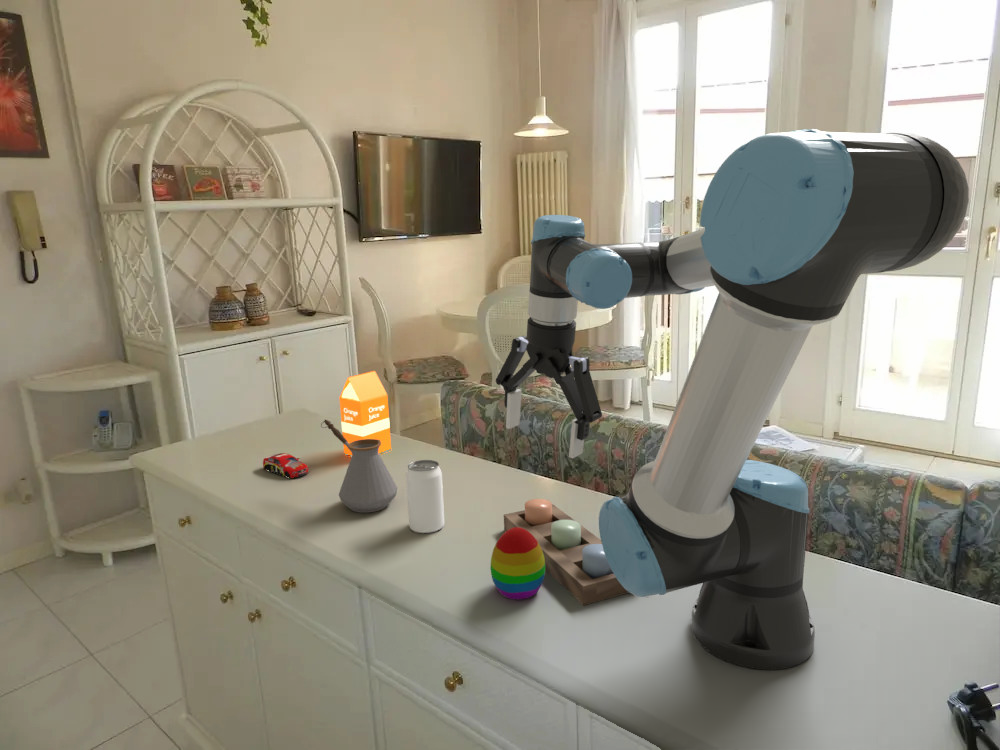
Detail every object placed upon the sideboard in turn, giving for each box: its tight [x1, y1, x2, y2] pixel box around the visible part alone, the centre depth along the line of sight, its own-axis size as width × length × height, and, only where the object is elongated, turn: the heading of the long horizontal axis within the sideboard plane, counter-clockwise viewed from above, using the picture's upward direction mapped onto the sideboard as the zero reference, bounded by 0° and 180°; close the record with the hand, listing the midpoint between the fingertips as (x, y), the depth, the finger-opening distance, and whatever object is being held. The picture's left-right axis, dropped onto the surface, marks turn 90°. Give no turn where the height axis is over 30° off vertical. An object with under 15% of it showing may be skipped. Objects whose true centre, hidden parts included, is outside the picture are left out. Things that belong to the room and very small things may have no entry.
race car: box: [262, 452, 310, 479], centre depth 157 cm, size 13×5×4 cm, turn 50°
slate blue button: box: [582, 544, 613, 579], centre depth 103 cm, size 5×5×4 cm
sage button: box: [551, 519, 582, 551], centre depth 112 cm, size 5×5×4 cm
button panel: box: [503, 503, 630, 606], centre depth 112 cm, size 28×10×3 cm, turn 24°
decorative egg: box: [490, 527, 546, 600], centre depth 102 cm, size 8×8×10 cm
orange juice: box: [339, 370, 392, 455], centre depth 167 cm, size 8×9×20 cm
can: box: [405, 459, 445, 534], centre depth 125 cm, size 6×6×12 cm
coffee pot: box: [320, 419, 398, 513], centre depth 139 cm, size 21×12×15 cm, turn 43°
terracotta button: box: [524, 498, 553, 527], centre depth 121 cm, size 5×5×4 cm
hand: (543, 440), depth 114 cm, fingers open, 13 cm apart
